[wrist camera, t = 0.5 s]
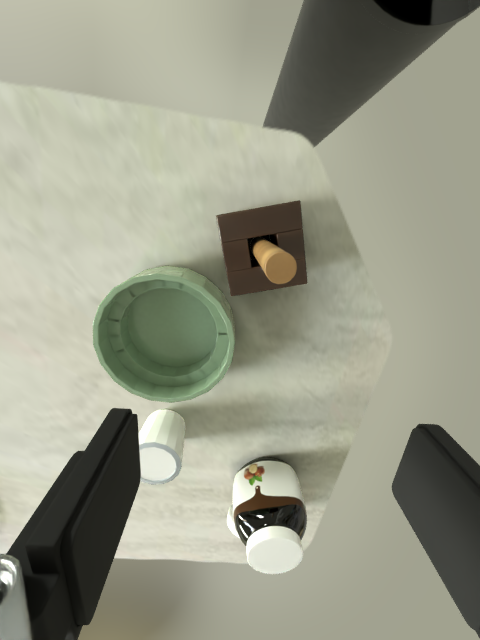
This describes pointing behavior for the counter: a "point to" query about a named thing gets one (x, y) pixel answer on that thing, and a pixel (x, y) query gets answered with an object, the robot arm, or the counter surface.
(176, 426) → the white cup
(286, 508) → the spread jar
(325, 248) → the counter surface
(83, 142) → the counter surface
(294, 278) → the stick holder
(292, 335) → the counter surface
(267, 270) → the stirring stick
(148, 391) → the bowl
